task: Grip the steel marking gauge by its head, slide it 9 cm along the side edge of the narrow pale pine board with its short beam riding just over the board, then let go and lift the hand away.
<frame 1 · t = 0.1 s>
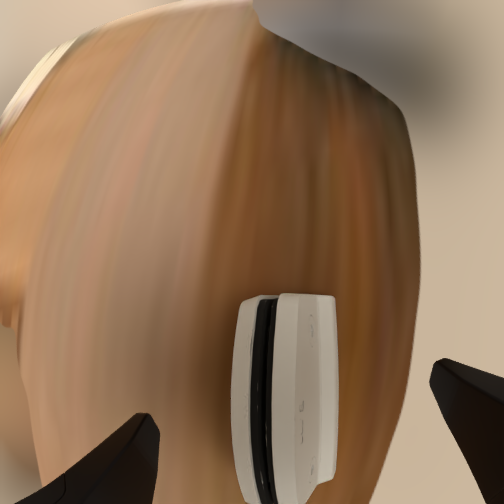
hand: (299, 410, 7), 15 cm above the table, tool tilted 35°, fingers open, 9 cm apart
white rounded piece: (291, 394, 21), on the table
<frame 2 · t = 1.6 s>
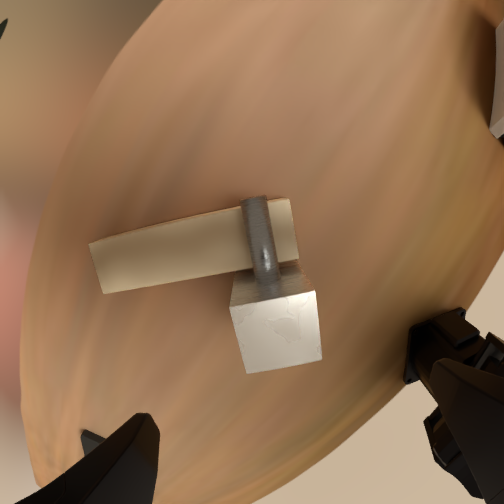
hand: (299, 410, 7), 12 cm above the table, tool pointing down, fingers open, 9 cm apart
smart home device: (116, 469, 26), on the table
marking gauge: (270, 291, 19), on the table
pine board: (190, 243, 18), on the table
white rounded piece: (500, 79, 14), on the table
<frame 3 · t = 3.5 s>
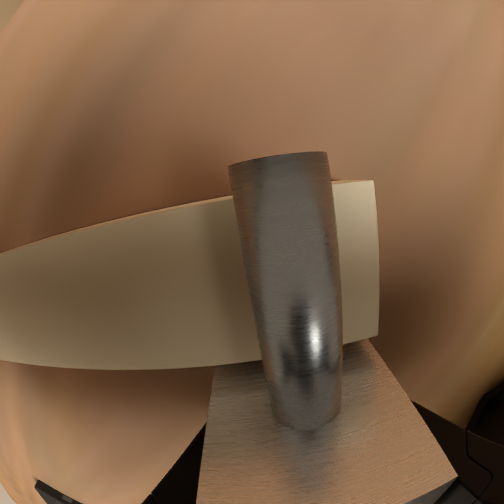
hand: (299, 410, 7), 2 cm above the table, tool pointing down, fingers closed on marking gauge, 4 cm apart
marking gauge: (292, 378, 8), on the table, touching gripper
pine board: (121, 280, 7), on the table
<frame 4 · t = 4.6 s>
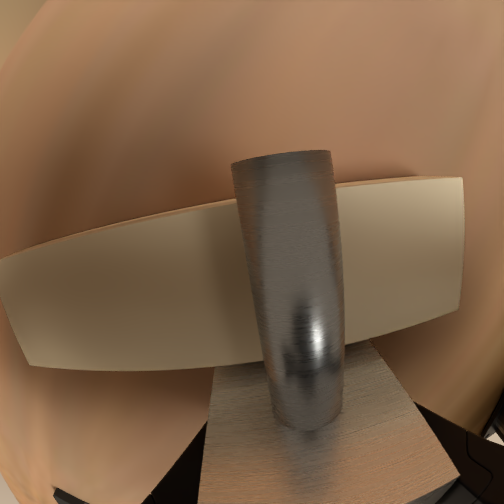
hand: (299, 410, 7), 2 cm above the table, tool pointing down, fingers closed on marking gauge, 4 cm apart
marking gauge: (292, 378, 8), on the table, touching gripper
pine board: (210, 269, 8), on the table
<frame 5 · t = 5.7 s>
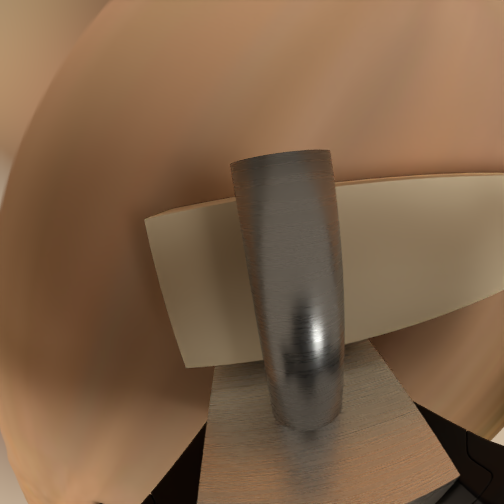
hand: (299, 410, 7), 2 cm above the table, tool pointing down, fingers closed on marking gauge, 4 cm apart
marking gauge: (292, 378, 8), on the table, touching gripper
pine board: (405, 235, 7), on the table
when the fingers open (2 cm above the table, at t = 6.9 s): marking gauge stays where it is, on the table.
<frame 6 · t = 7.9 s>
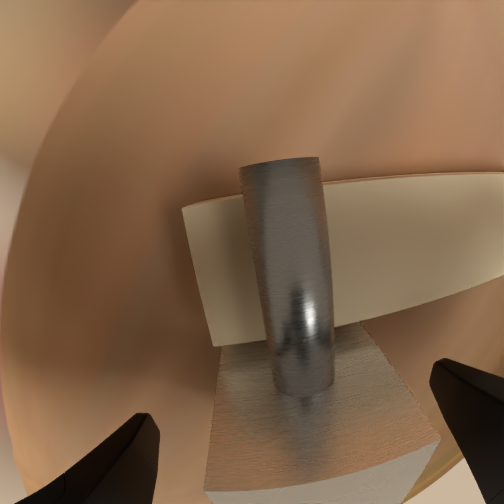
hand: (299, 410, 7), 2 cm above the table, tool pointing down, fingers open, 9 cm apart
marking gauge: (291, 362, 9), on the table
pine board: (406, 227, 8), on the table
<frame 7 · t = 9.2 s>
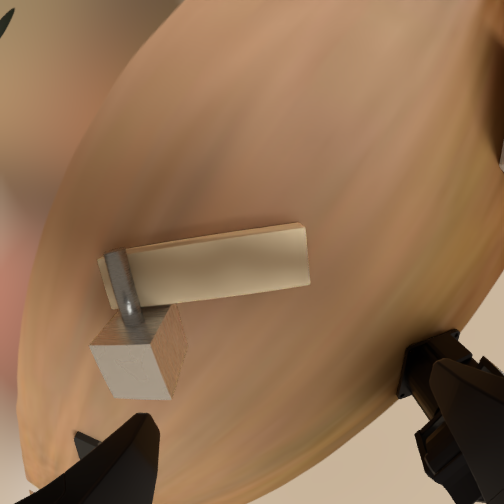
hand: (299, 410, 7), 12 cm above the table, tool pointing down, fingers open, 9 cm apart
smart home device: (110, 470, 26), on the table
marking gauge: (156, 325, 19), on the table
pine board: (202, 263, 18), on the table
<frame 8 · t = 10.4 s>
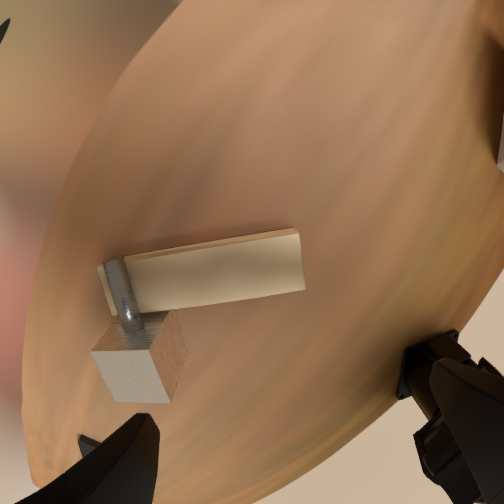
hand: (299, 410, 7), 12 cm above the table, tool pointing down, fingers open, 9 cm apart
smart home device: (115, 473, 27), on the table
marking gauge: (156, 330, 20), on the table
pine board: (199, 269, 18), on the table
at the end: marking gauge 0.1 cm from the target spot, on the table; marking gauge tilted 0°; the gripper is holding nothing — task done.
